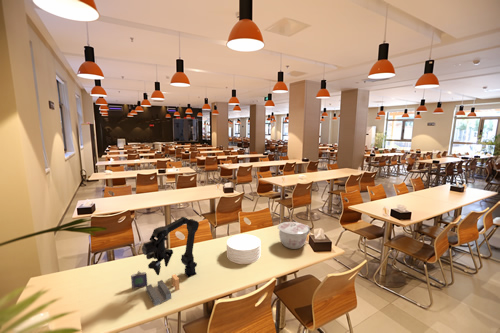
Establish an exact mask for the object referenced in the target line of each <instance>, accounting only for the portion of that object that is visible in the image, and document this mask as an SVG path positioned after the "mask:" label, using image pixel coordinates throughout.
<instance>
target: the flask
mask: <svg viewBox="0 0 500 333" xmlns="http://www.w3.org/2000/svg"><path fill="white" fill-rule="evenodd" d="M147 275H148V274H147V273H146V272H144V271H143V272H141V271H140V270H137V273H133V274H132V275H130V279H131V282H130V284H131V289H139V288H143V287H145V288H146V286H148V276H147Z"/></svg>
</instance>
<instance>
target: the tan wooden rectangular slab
mask: <svg viewBox="0 0 500 333" xmlns="http://www.w3.org/2000/svg"><path fill="white" fill-rule="evenodd" d="M171 285H172V287H173V288H174V290H175V291H179V290H180V278H179V277H178V276H177V274H176V273H174V274H172V275H171Z"/></svg>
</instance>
